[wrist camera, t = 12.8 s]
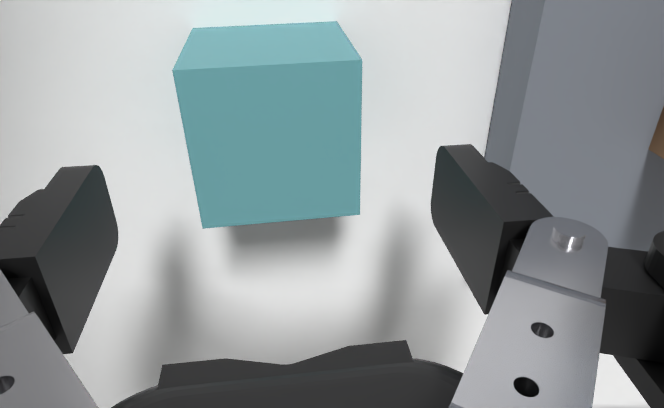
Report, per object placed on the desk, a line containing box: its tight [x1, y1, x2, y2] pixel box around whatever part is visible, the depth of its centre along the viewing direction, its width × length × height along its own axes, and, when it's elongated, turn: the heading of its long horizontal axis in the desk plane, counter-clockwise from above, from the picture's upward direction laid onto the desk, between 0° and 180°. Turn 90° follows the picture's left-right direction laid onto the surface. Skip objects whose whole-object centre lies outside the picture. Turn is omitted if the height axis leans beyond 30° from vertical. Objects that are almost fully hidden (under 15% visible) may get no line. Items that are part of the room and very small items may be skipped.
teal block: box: [172, 21, 362, 228], centre depth 15 cm, size 4×4×4 cm
